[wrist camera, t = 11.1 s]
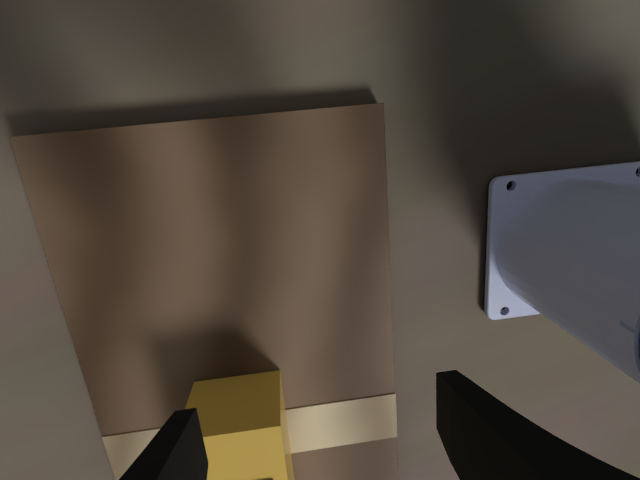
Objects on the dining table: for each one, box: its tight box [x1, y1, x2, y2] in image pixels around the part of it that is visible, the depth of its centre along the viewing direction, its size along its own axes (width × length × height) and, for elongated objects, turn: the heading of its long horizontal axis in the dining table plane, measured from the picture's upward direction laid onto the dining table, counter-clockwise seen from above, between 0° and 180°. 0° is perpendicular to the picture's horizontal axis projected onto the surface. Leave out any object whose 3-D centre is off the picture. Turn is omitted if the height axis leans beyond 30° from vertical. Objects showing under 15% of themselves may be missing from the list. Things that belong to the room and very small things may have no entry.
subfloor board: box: [9, 103, 399, 480], centre depth 20 cm, size 16×24×1 cm, turn 5°
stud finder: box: [185, 370, 295, 480], centre depth 19 cm, size 4×8×4 cm, turn 5°
